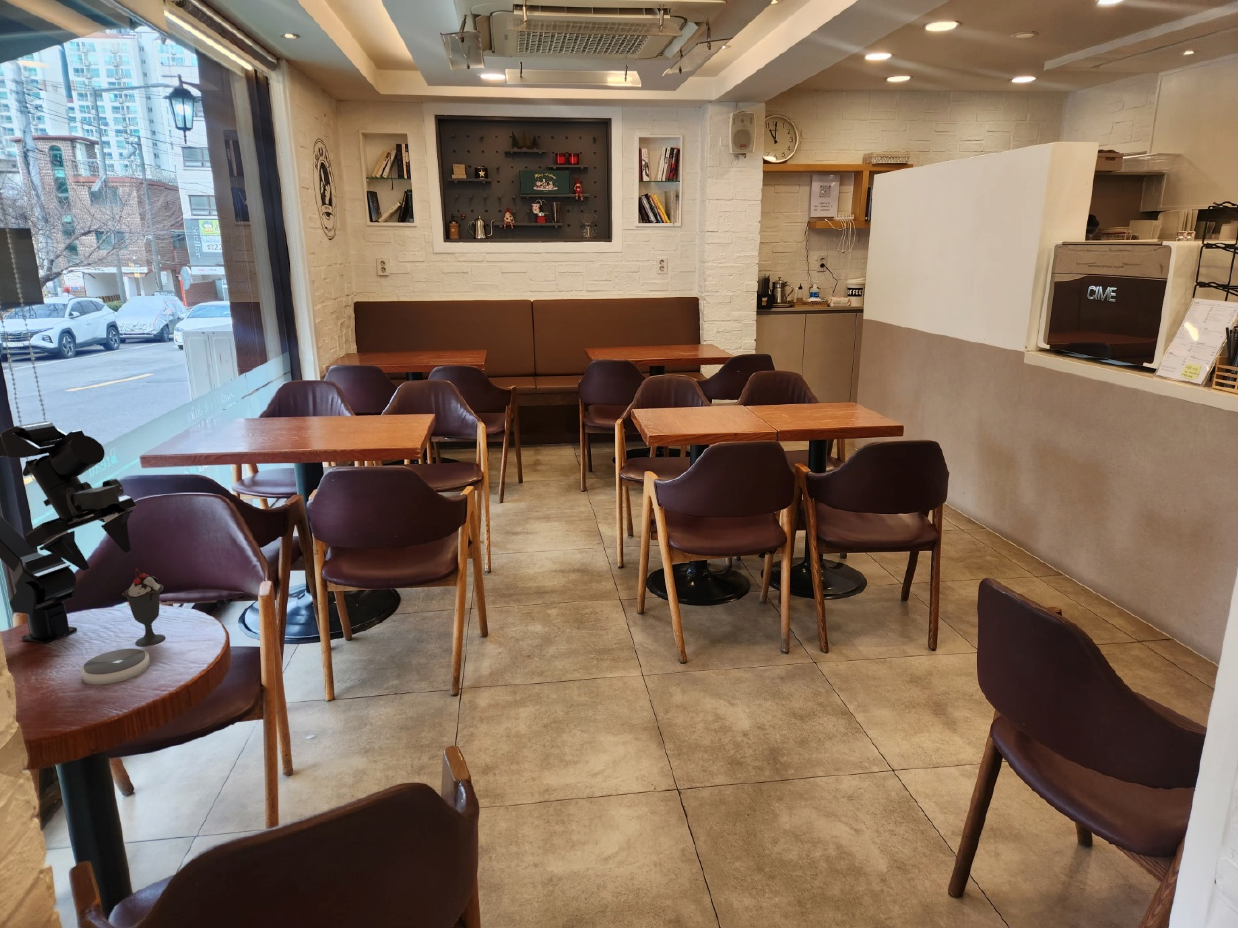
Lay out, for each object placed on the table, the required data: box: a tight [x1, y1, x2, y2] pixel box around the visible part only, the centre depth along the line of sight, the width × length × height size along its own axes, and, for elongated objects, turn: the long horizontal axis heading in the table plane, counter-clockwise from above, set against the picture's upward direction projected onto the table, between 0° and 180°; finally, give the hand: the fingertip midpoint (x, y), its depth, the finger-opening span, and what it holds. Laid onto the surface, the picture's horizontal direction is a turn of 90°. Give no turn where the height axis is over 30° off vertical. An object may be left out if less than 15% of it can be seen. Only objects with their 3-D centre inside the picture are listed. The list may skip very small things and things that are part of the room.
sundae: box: [121, 567, 166, 647], centre depth 146 cm, size 7×7×15 cm
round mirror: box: [80, 648, 151, 686], centre depth 135 cm, size 10×10×2 cm
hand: (108, 560), depth 143 cm, fingers open, 9 cm apart
